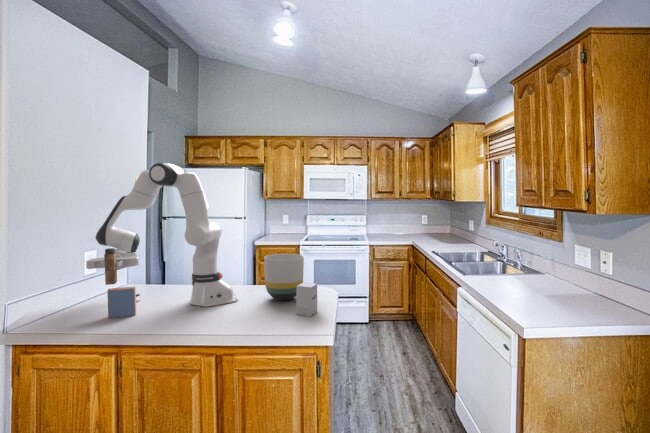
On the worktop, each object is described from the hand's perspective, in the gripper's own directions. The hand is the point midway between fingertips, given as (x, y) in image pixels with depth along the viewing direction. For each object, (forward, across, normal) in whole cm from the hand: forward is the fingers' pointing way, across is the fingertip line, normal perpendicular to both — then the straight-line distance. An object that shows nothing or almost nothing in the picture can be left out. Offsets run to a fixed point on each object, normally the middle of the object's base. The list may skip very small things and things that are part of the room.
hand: (110, 265), depth 149 cm
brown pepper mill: (-1, 0, +8) cm, 8 cm away
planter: (+6, +75, +22) cm, 79 cm away
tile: (+4, +4, +22) cm, 22 cm away
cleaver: (-16, +5, +22) cm, 28 cm away
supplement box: (+30, +79, +23) cm, 88 cm away
